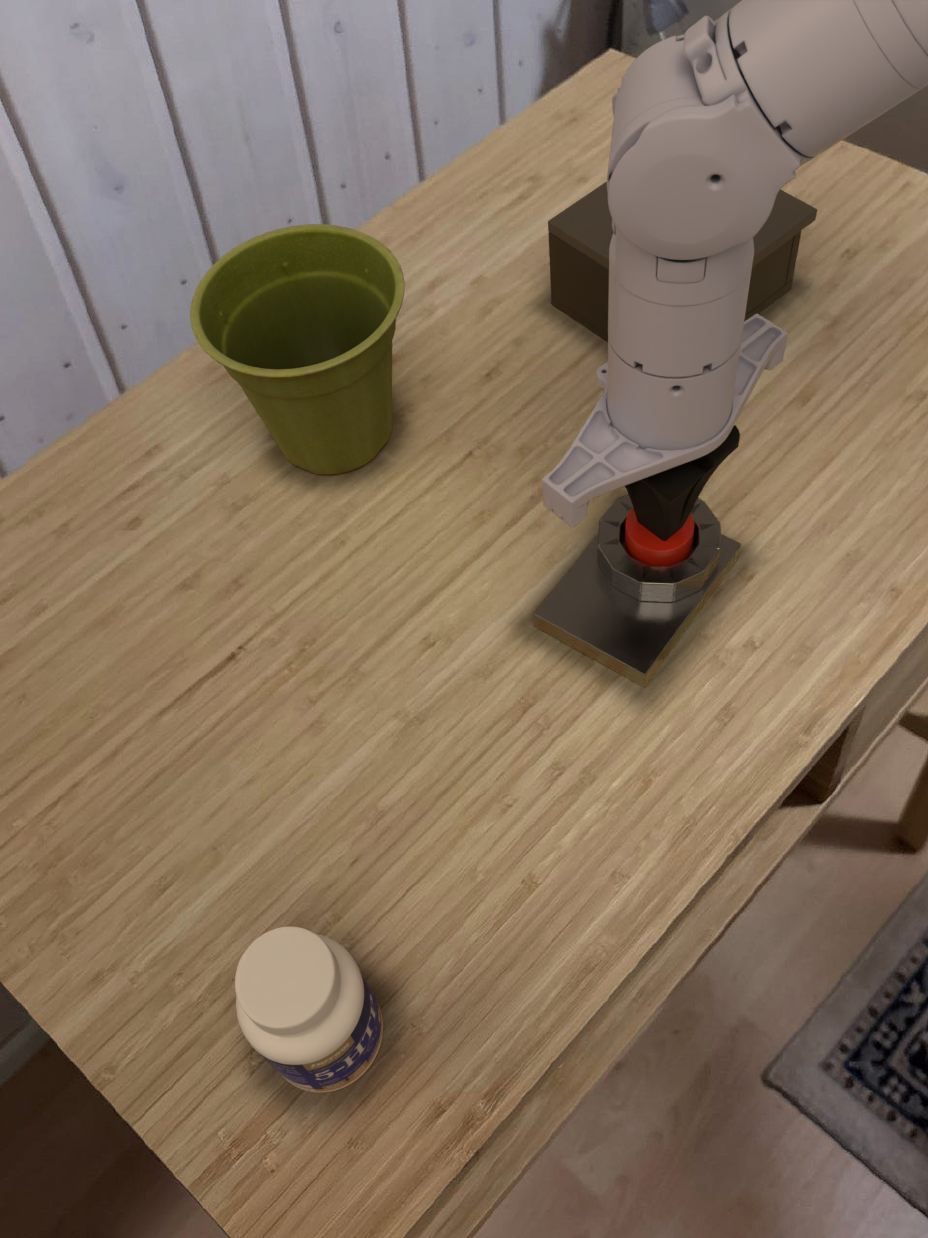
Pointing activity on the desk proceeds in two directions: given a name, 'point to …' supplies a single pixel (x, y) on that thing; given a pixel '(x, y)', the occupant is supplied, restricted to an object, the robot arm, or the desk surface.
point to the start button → (657, 543)
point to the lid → (593, 232)
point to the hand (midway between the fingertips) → (659, 524)
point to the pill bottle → (307, 1009)
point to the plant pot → (308, 338)
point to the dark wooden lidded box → (587, 283)
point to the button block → (635, 595)
